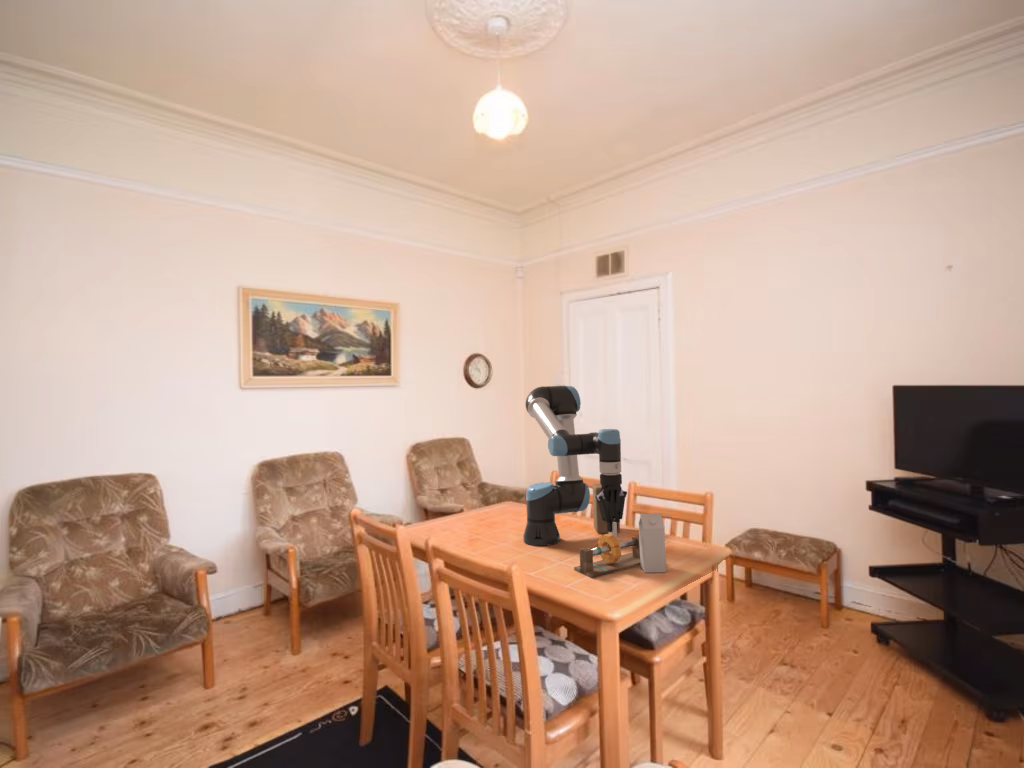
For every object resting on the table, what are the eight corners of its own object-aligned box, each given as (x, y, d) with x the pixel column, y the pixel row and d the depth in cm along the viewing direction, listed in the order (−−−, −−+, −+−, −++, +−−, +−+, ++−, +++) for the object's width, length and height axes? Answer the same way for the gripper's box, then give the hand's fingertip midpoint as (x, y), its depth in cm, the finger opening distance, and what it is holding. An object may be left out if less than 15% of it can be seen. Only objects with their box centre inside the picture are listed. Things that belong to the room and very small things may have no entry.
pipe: (583, 556, 175) (583, 549, 175) (635, 544, 187) (635, 537, 187) (588, 558, 172) (588, 551, 172) (641, 545, 184) (640, 538, 185)
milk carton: (640, 566, 179) (638, 511, 179) (660, 565, 179) (658, 510, 179) (644, 573, 172) (642, 516, 172) (666, 572, 171) (664, 515, 172)
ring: (598, 558, 182) (597, 532, 182) (603, 557, 183) (602, 531, 183) (616, 566, 174) (615, 538, 174) (621, 564, 175) (620, 537, 175)
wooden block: (620, 533, 220) (618, 486, 220) (597, 534, 220) (595, 487, 220) (616, 527, 230) (614, 482, 230) (593, 528, 230) (592, 483, 230)
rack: (574, 570, 177) (573, 546, 177) (632, 555, 191) (631, 533, 191) (592, 578, 168) (592, 554, 168) (652, 562, 182) (651, 539, 182)
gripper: (603, 476, 174) (606, 546, 173) (631, 472, 180) (634, 539, 180) (589, 474, 180) (591, 541, 180) (617, 470, 187) (619, 535, 186)
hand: (613, 540), depth 180 cm, fingers closed
